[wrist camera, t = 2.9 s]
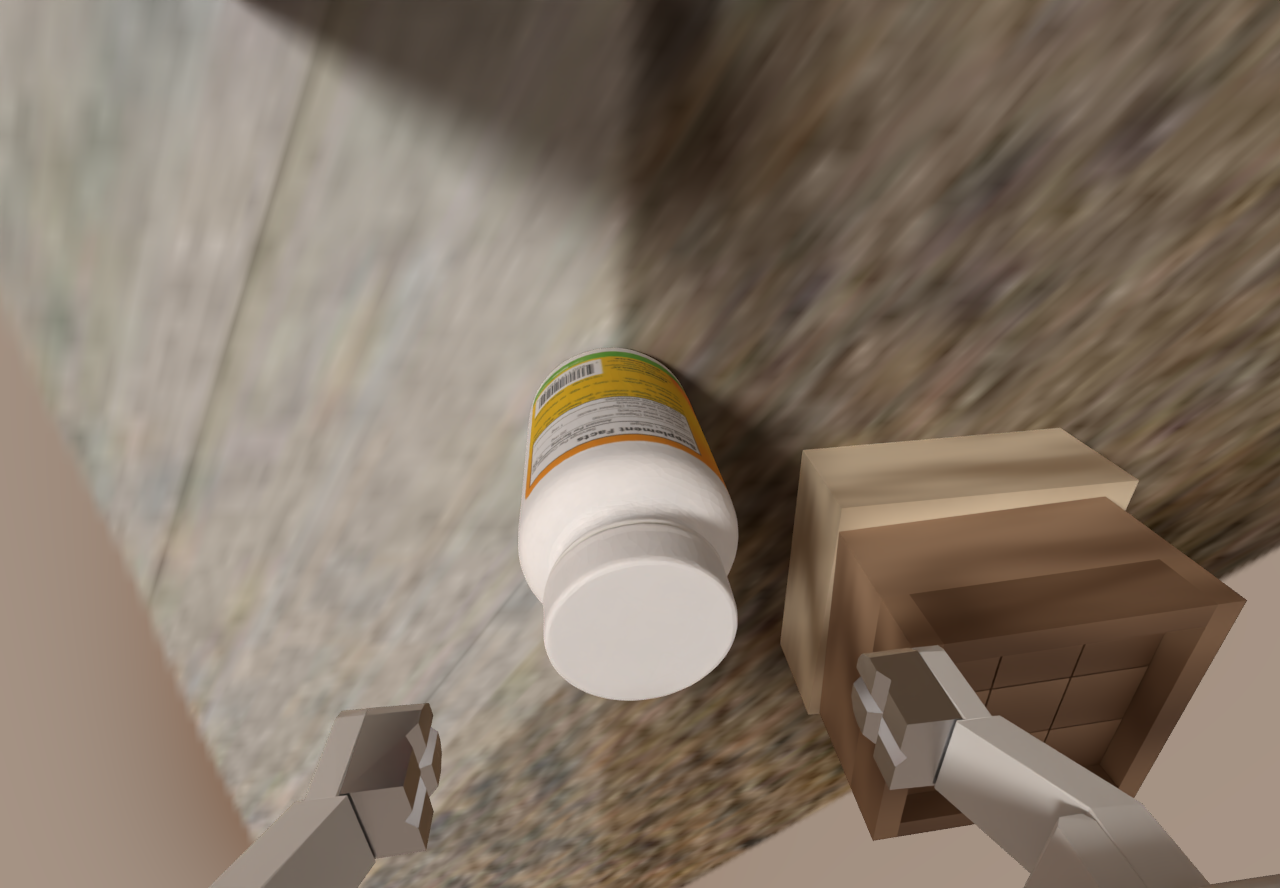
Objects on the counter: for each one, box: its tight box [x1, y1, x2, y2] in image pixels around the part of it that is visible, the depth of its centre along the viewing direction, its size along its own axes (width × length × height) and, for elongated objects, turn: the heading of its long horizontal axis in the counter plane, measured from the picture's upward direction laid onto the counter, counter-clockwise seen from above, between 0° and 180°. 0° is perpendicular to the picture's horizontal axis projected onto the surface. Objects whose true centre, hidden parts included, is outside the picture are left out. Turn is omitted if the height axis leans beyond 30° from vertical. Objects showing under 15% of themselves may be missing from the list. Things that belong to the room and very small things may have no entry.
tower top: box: [819, 496, 1247, 841], centre depth 20 cm, size 9×9×5 cm
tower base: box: [780, 428, 1139, 715], centre depth 24 cm, size 10×10×4 cm
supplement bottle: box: [518, 348, 738, 701], centre depth 16 cm, size 5×5×10 cm
